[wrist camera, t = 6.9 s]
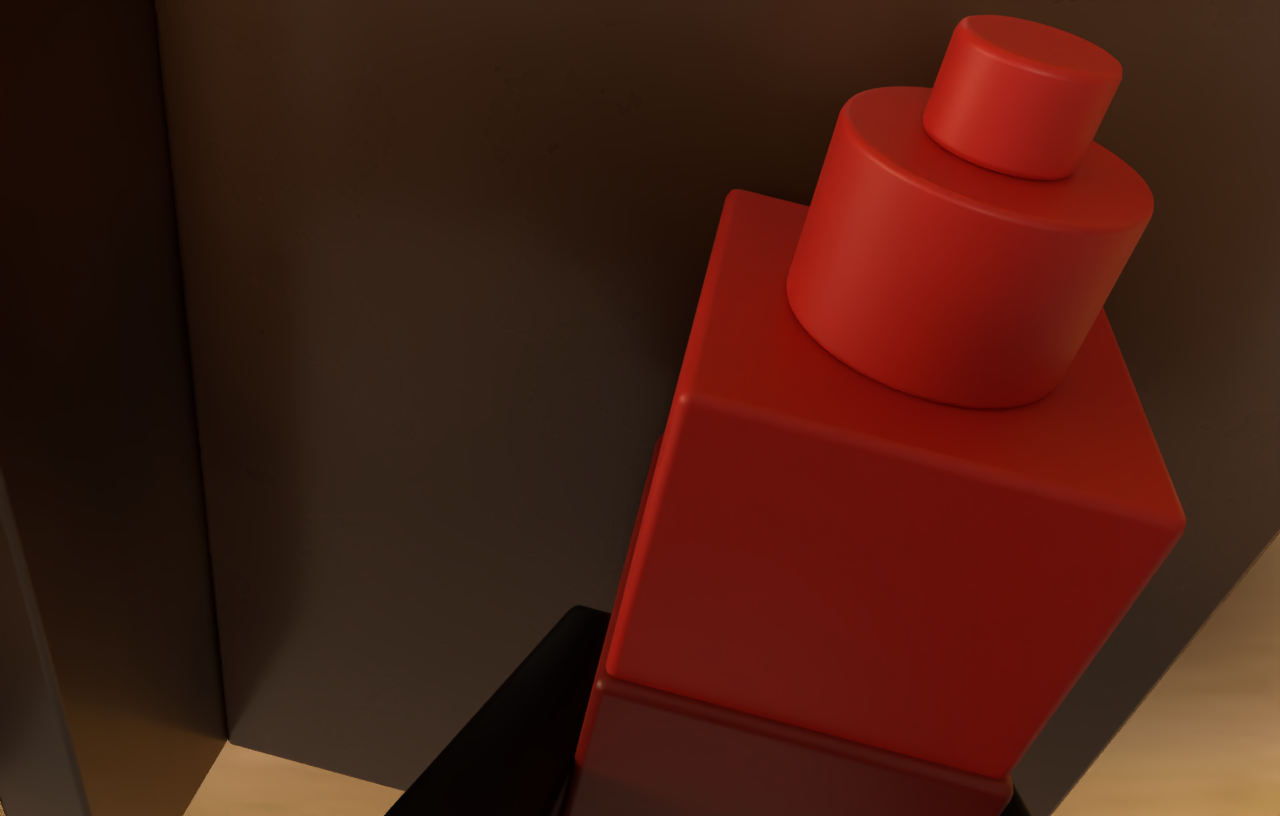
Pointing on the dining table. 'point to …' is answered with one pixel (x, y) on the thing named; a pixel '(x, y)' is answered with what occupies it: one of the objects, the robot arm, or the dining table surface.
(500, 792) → the robot arm
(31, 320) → the shelf
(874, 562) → the red square bottle
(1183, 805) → the dining table surface
